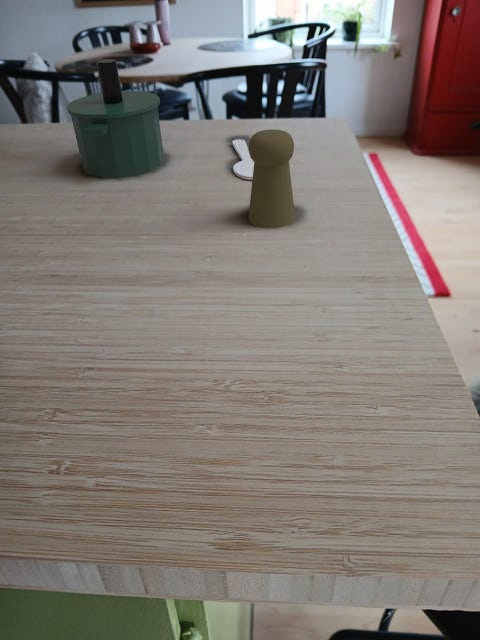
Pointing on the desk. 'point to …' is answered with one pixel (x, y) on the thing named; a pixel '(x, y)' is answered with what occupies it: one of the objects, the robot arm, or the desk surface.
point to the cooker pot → (120, 144)
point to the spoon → (243, 160)
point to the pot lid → (112, 97)
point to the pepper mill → (271, 179)
